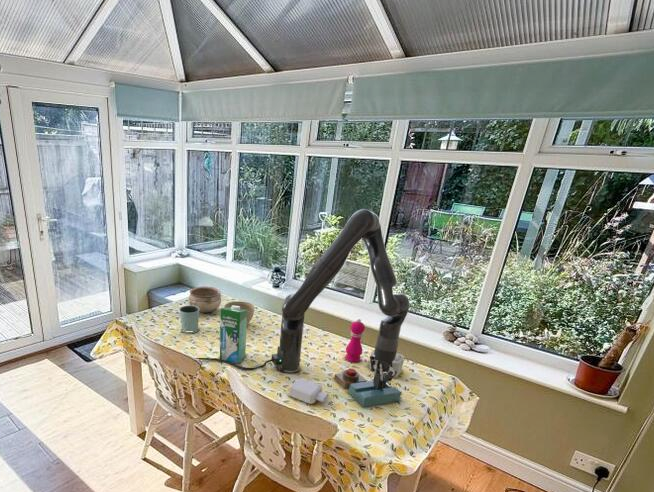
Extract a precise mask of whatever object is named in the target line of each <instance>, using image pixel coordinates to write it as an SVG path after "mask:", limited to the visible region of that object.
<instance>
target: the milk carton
mask: <svg viewBox="0 0 654 492" xmlns="http://www.w3.org/2000/svg"><path fill="white" fill-rule="evenodd" d="M219 317H220V319H219V321H220V323H219V325H220V326H219V331H220V332H219V359H222V360H226V361H230V362H232V363H234V364H236V365H238V364H239V363H241V361H242V360H243V359H244V357H246V350H247V349H246V348H247V347H246V346H247V329H248V328H247V327H248V326H247V310H244V309H240V306H234V305H232V306H231V307H225V308H224V307H221V308H220V316H219Z"/></svg>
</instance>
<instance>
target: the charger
mask: <svg viewBox="0 0 654 492" xmlns="http://www.w3.org/2000/svg"><path fill="white" fill-rule="evenodd" d="M288 394H289V397H292V398H294V399H296V400H300V401H302V402H305V403H307V404H309V405H311V404H315V403H316V401H319V402H321V403H325V402H326V401H327V402H331V400H333V398H332V397H330V396H329V395H330V394H329V393H327V392H324V391H323V386H322V385H321V384H319V383H318V382H317V383H316V382H314V381H311V380H308V379H306V378H303V377H298V379H297V380H295V381H294V382H293V383H292V384H291V385H290V387H289V393H288Z"/></svg>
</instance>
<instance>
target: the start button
mask: <svg viewBox="0 0 654 492" xmlns="http://www.w3.org/2000/svg"><path fill="white" fill-rule="evenodd" d="M347 370H348V371H347V374H348V375H350V376H355V374H356V371H357V370H356V369H354V368H348V369H347Z"/></svg>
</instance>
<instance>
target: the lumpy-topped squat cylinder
mask: <svg viewBox="0 0 654 492" xmlns="http://www.w3.org/2000/svg"><path fill="white" fill-rule="evenodd" d="M374 351H375V349H372V351H371V352H370V356H374ZM404 361H405V356H404V355H403V354H402V353H398V352H396V357H395V360H394V361H393V362H392V365H393V367H392V368H393V370H394V371H395V370H396V371H397V374H396V375H395V376H394V378H393V379H396V378H398V377H399V375H400V374H401V373H402V370H403V366H404ZM368 367H369V369H370V370H371V363H370V362H369V364H368ZM374 367H375V365H374Z"/></svg>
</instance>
